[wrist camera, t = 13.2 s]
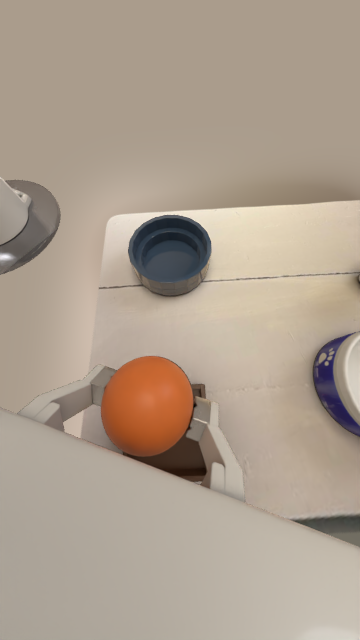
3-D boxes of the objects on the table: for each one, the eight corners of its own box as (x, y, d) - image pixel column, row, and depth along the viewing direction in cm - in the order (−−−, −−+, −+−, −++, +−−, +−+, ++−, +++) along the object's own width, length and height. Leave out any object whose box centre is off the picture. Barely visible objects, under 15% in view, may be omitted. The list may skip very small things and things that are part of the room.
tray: (126, 474, 24) (120, 484, 22) (131, 386, 28) (126, 387, 25) (209, 471, 24) (211, 481, 22) (202, 384, 28) (204, 384, 25)
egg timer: (118, 399, 15) (54, 418, 8) (157, 351, 17) (134, 328, 9) (164, 443, 14) (142, 515, 7) (203, 388, 16) (220, 396, 8)
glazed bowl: (121, 270, 34) (111, 252, 30) (166, 225, 38) (164, 203, 33) (177, 311, 32) (176, 299, 27) (221, 258, 35) (227, 239, 30)
